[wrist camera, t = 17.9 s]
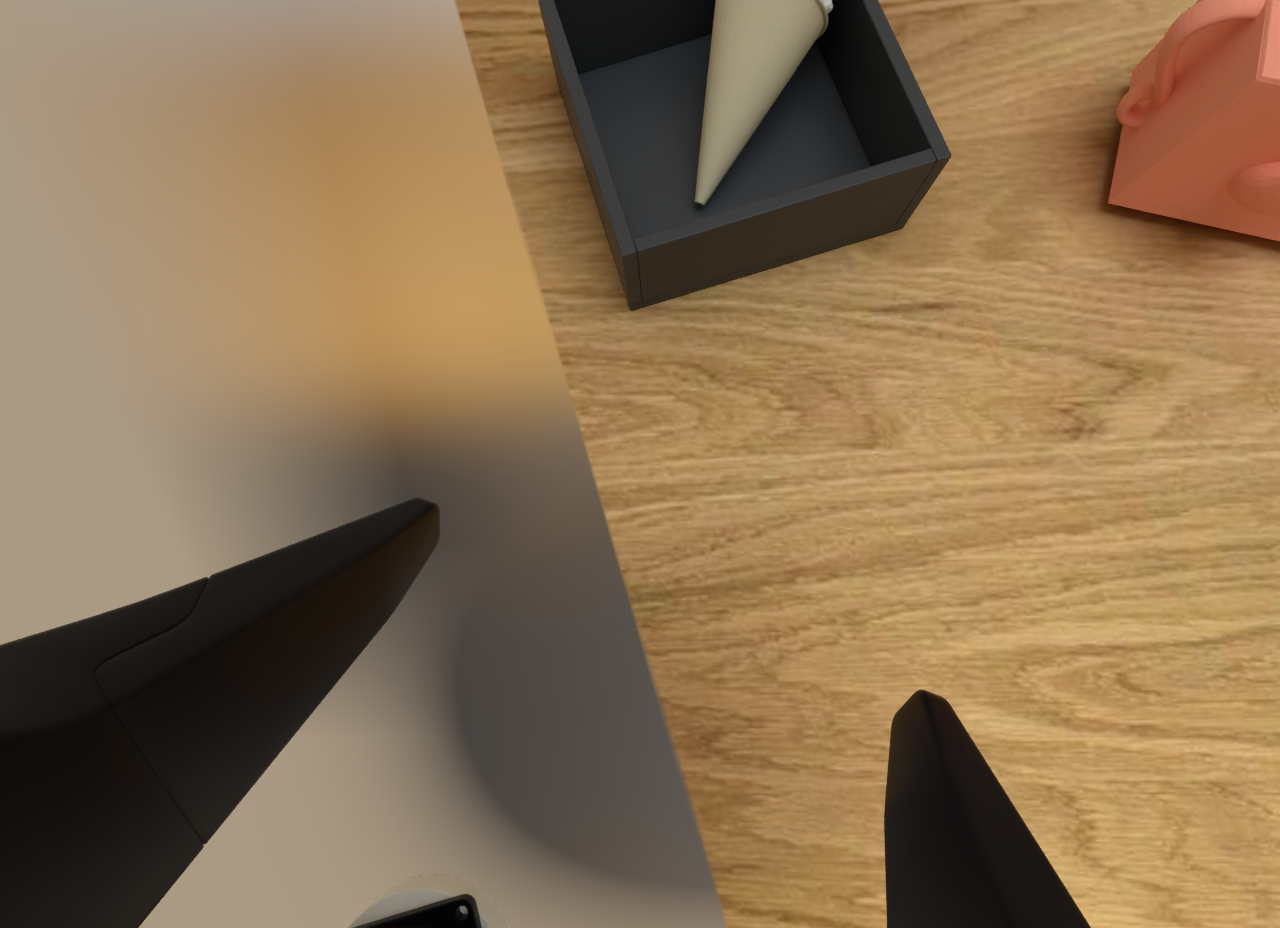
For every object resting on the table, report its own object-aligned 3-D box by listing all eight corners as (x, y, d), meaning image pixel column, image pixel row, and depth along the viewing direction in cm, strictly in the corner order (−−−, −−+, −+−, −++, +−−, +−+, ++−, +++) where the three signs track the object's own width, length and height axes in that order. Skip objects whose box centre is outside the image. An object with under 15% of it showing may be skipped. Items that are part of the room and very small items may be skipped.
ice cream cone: (741, 231, 28) (877, -119, 24) (760, 214, 23) (933, -229, 19) (648, 194, 28) (770, -167, 24) (646, 169, 23) (799, -291, 19)
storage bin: (630, 311, 26) (621, 256, 21) (557, 81, 28) (535, -12, 24) (903, 228, 26) (952, 155, 21) (805, 6, 28) (830, -102, 24)
